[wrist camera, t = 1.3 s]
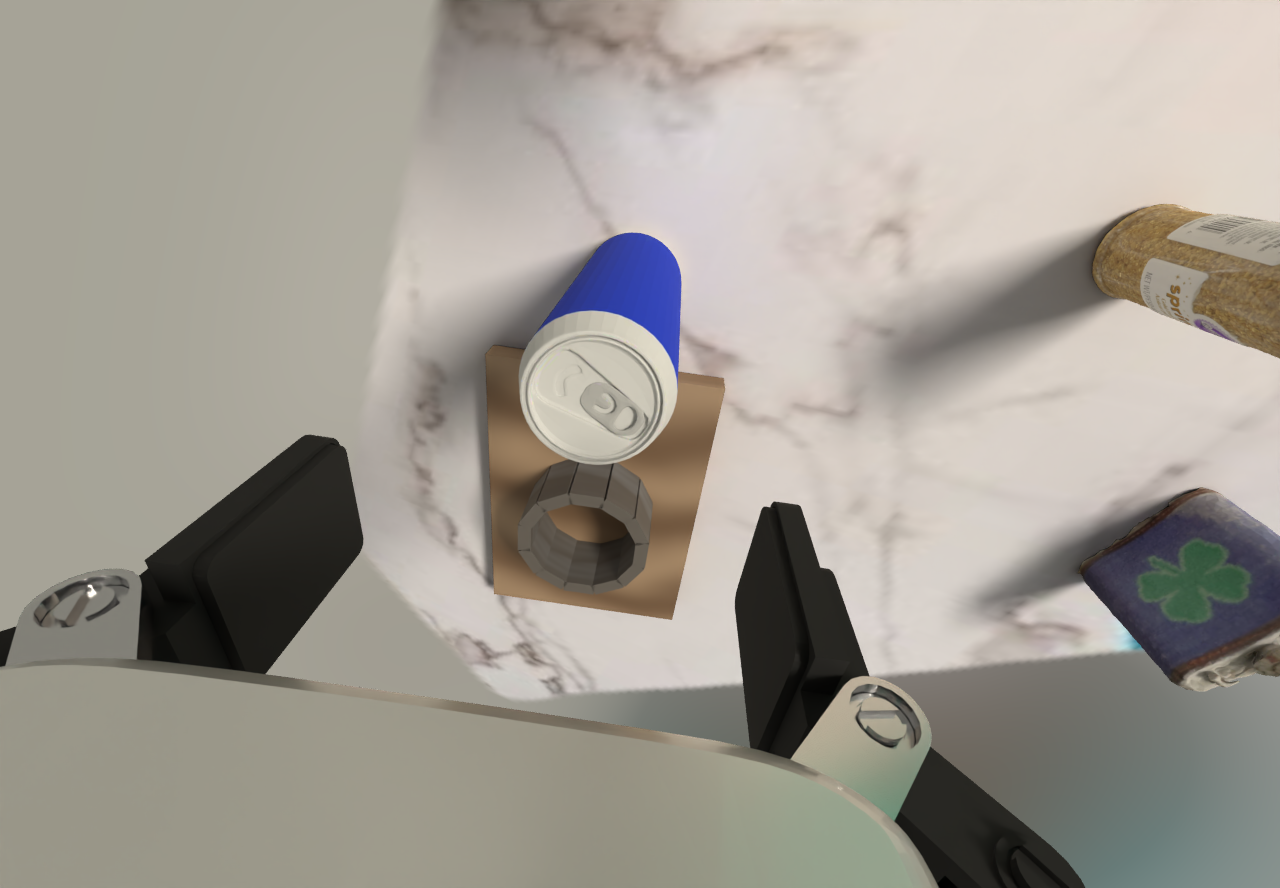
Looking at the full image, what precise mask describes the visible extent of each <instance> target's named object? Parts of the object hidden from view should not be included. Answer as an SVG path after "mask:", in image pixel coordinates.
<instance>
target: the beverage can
mask: <svg viewBox="0 0 1280 888" xmlns="http://www.w3.org/2000/svg"><path fill="white" fill-rule="evenodd" d="M680 308H681V274H680V269H679V266H678V263H677V261H676V259H675V257H674V256H673V254H672V253H671V251H670V250H669V249H668V248H667V247H666V246H665V245H664V244H663V243H662V242H660V241H659V240H657V239H655V238H653V237H651V236H649V235H645V234H641V233H624V234H620V235H617V236H615V237H612V238H610V239H609V240H607V241H606V242H604V243H603V244H602V245H601V246H600V247H599V248H598V249H597V250H596V252H595V253H594V254H593V256H592V257H591V259H590V260H589V261H588V263H587V264H586V265H585V267H584V268H583V270H582V271H581V272H580V274H579V275H578V276H577V278H576V279H575V280H574V282H573V283H572V285H571V286H570V287H569V289H568V290H567V291H566V293H565V294H564V295H563V297H562V298H561V300H560V301H559V302H558V304H557V305H556V306H555V308H554V309H553V310H552V312H551V313H550V315H549V316H548V317H547V319H546V320H545V321H544V323H543V324H542V325H541V327H540V328H539V330H538V331H537V332H536V334H535V335H534V336H533V338H532V339H531V341H530V342H529V343H528V345H527V347H526V349H525V351H524V353H523V356H522V359H521V363H520V368H519V391H520V402H521V407H522V411H523V414H524V416H525V419H526V421H527V423H528V425H529V426H530V428H531V430H532V431H533V433H534V434H535V435H536V436H537V438H538V439H539V440H540V441H541V442H542V443H543V444H545V445H546V446H547V447H548V448H549V449H551V450H552V451H554V452H555V453H557V454H559V455H561V456H563V457H565V458H567V459H570V460H573V461H575V462H580V463H584V464H593V465H603V464H612V463H617V462H620V461H623V460H626V459H629V458H631V457H633V456H635V455H637V454H639V453H640V452H641V451H643V450H644V449H646V448H647V447H648V446H649V445H650V444H651V443H652V442H653V441H654V440H655V439H656V438H657V436H658V435H659V434H660V433H661V432H662V431H663V429H664V428H665V426H666V425H667V424H668V422H669V420H670V418H671V416H672V414H673V412H674V408H675V405H676V400H677V391H678V364H679V336H680Z"/></svg>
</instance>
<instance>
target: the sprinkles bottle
mask: <svg viewBox="0 0 1280 888" xmlns="http://www.w3.org/2000/svg"><path fill="white" fill-rule="evenodd" d="M1092 266H1093V270H1092V275H1093V278H1094V281H1095V282H1096V284H1097V286H1098V287H1099V288H1100V289H1101V291H1102V292H1104V293H1106V294H1107V295H1109V296H1111V297H1114V298H1120V299H1127V300H1129V301H1132V302H1135V303H1138V304H1140V305H1142V306H1146V307H1148V308H1150V309H1152V310H1153V311H1155V312H1157V313H1159V314H1162V315H1165V316H1167V317H1170V318H1173V319H1175V320H1178V321H1180V322H1183V323H1186V324H1188V325H1191V326H1194V327H1196V328H1199V329H1201V330H1204V331H1206V332H1209V333H1212V334H1214V335H1217V336H1219V337H1222V338H1225V339H1228V340H1231V341H1233V342H1236V343H1238V344H1241V345H1244V346H1247V347H1252V348H1255V349H1258V350H1260V351H1263V352H1265V353H1268V354H1271V355H1273V356H1275V357H1278V358H1280V223H1279V222H1273V221H1266V220H1260V219H1254V218H1248V217H1241V216H1235V215H1228V214H1216V215H1213V214H1206V213H1202V212H1196V211H1192V210H1190V209H1188V208H1185V207H1183V206H1178V205H1174V204H1159V205H1154V206H1151V207H1148V208H1144V209H1141V210H1139V211H1137V212H1135V213H1133V214H1131V215H1129V216H1128V217H1126V218H1125V219H1123V220H1122V221H1121V222H1120V223H1119V224H1118V225H1116V226H1115V227H1114V228H1113V229H1112V230H1111V231H1110V232H1109V233H1108V234H1106V235H1105V237H1104V239H1103V241H1102V242H1101V244H1100V245H1099V246H1098V249H1097V251H1096V255H1095V259H1094V262H1093V265H1092Z"/></svg>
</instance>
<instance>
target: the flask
mask: <svg viewBox="0 0 1280 888" xmlns="http://www.w3.org/2000/svg"><path fill="white" fill-rule="evenodd" d="M1168 505H1170V506H1169V508H1168V507H1167V508H1165V509H1163V510H1161V511H1160V512H1159V513H1157V514H1155V515H1153V516H1152V517H1151V518H1147V519H1146V520H1144V521H1143V522H1140V523H1139V524H1138V525H1137V526H1135V527H1133V528H1132V530H1130V531H1131V532H1129V534H1128V535H1127V537H1125V538H1123V539H1122V540H1116V541H1115V542H1114V543H1113V544H1112V546H1111V547H1109V548H1108V549H1104V550H1102V551H1101V550H1100V552H1098V554H1096V556H1093V557H1091V558H1089V559H1087V560H1085V561H1083V563H1082V564H1081V566H1080V569H1079V571H1078V572H1077V573H1080V574H1081V575H1082V577H1083V579H1084V581H1085V582H1086V584H1087V585H1088V586H1089V587H1090V589H1091V590H1092V591H1093V592H1094V593H1095V594H1096V595H1097V596H1098V598H1099V599H1100V600H1101V601H1102V602H1103V603H1104V604H1105V605H1106V606H1107V607H1108V609H1109V610H1110V611H1111V613H1112V614H1113V615H1114V616H1115V617H1116V618H1117V619H1118V620H1119V621H1120V622H1121V623H1122V625H1123V626H1124V627H1125V628H1126V629H1127V630H1128V631H1129V633H1130V634H1131V635H1132V637H1133V638H1134V639H1135V640H1136V641H1137V642H1138V643H1139V644H1140V645H1141V647H1142V648H1143V649H1144V650H1145V651H1146V653H1147V654H1148V655H1149V656H1150V657H1151V659H1152V660H1153V661H1154V662H1155V663H1156V664H1157V665H1158V666H1159V667H1160V668H1161V669H1162V671H1163V672H1164V674H1165V675H1166V676H1167V677H1168V678H1169V680H1170V681H1171V682H1173V683H1175V684H1176V685H1179V686H1181V687H1183V688H1185V689H1187V690H1195V691H1207V690H1209V689H1212V688H1215V687H1217V686H1222V687H1229V686H1232V685H1234V684H1236V683H1238V682H1239V681H1235V682H1229V681H1232V680H1234V679H1237V678H1241V677H1247V676H1249V675H1253V674H1255V673H1258V674H1261V675H1269V676H1275V677H1277V676H1280V536H1279V535H1277V534H1276V533H1274V532H1273V531H1272V530H1271V529H1269V528H1268V527H1267V526H1265V525H1264V524H1262V523H1261V522H1259V521H1258V520H1256V519H1254V518H1253V517H1251V516H1250V515H1249V514H1248V513H1246V512H1245V511H1243V510H1242V509H1241V508H1239V507H1238V506H1236V505H1235V504H1234V503H1232V502H1231V501H1229V500H1228V499H1227V498H1225V497H1224V496H1223V495H1221V494H1220V493H1218V492H1216V491H1213V490H1209V489H1206V488H1203V487H1201V488H1199V489H1198V490H1197V491H1193V492H1191V493H1188V494H1184V495H1182V496H1180V497H1179V498H1176V499H1175V500H1172V501H1171V502H1169V503H1168Z"/></svg>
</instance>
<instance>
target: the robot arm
mask: <svg viewBox="0 0 1280 888" xmlns="http://www.w3.org/2000/svg"><path fill="white" fill-rule="evenodd" d="M362 546H363V534H362V528H361V523H360V518H359V513H358V508H357V503H356V498H355V493H354V488H353V482H352V477H351V472H350V467H349V462H348V457H347V452H346V450H345V448H344V447H343V446H340V444H339V442H338V441H337V440H336V439H334V438H328V437H322V436H315V435H305V436H303V437H301V438H300V439H299V440H298V441H296V442H295V443H294V444H292V445H291V446H290V447H289V448H288V449H286V450H285V451H284V452H282V453H281V454H280V455H278V456H277V457H276V458H275V459H273V460H272V461H271V462H269V463H268V464H267V465H266V466H264V467H263V468H262V469H261V470H259V471H258V472H257V473H255V474H254V475H253V476H252V477H251V478H249V479H248V480H247V481H245V482H244V483H243V484H241V485H240V486H239V487H238V488H236V489H235V490H234V491H232V492H231V493H230V494H229V495H227V496H226V497H225V498H224V499H222V500H221V501H220V502H219V503H217V504H216V505H215V506H213V507H212V508H211V509H210V510H208V511H207V512H206V513H205V514H203V515H202V516H201V517H199V518H198V519H197V520H196V521H194V522H193V523H192V524H190V525H189V526H188V527H187V528H185V529H184V530H183V531H181V532H180V533H179V534H178V535H176V536H175V537H174V538H173V539H171V540H170V541H169V542H167V543H166V544H165V545H164V546H162V547H161V548H160V549H159V550H157V551H156V552H155V553H153V555H151V556H150V557H148V558H147V559H146V560H145V562H146V564H147V566H148V569H147V570H146V571H145V572H143V573H142V574H141V575H139V576H138V575H136V574H135V573H134V572H132V571H128V570H123V569H104V570H98V571H93V572H88V573H85V574H81V575H78V576H75V577H72V578H69V579H67V580H65V581H63V582H61V583H59V584H57V585H54V586H52V587H51V588H49V589H47V590H46V591H44V592H43V593H41V594H40V595H38V596H37V597H36V598H34V599H33V601H32V602H30V603H29V604H28V605H27V606H26V607H25V608H24V610H23V612H22V614H21V615H20V617H19V620H18V624H17V626H16V627H13V628H10V629H7V630H4V631H1V632H0V888H1085V886H1084V884H1083V883H1082V881H1081V879H1080V878H1079V876H1078V875H1077V874H1076V873H1075V871H1074V870H1073V869H1072V867H1071V866H1070V865H1069V863H1068V862H1067V861H1066V860H1065V859H1064V858H1063V857H1062V856H1061V855H1060V854H1059V853H1058V852H1057V851H1056V850H1055V849H1054V848H1053V847H1052V846H1051V845H1049V844H1048V843H1047V842H1046V841H1045V840H1043V839H1042V838H1041V837H1040V836H1038V835H1037V834H1036V833H1035V832H1034V831H1032V830H1031V829H1030V828H1029V827H1027V826H1026V825H1025V824H1024V823H1023V822H1021V821H1020V820H1019V819H1018V818H1016V817H1015V816H1014V815H1013V814H1012V813H1010V812H1009V811H1008V810H1007V809H1005V808H1004V807H1003V806H1002V805H1001V804H999V803H998V802H997V801H996V800H995V799H993V798H992V797H991V796H990V795H989V794H987V793H986V792H985V791H984V790H982V789H981V788H980V787H979V786H978V785H976V784H975V783H974V782H973V781H971V780H970V779H969V778H968V777H967V776H965V775H964V774H963V773H962V772H960V771H959V770H958V769H957V768H956V767H954V766H953V765H952V764H951V763H950V762H948V761H947V760H946V759H944V758H943V757H942V756H941V755H940V754H939V753H937V752H936V751H935V750H934V749H932V748H931V747H930V744H931V739H932V736H931V730H930V725H929V723H928V721H927V719H926V717H925V715H924V713H923V711H922V710H921V709H920V707H919V706H918V705H917V704H916V702H915V701H914V700H913V699H912V698H911V697H910V696H909V695H907V694H906V693H905V692H904V691H903V690H901V689H900V688H898V687H897V686H895V685H893V684H891V683H890V682H888V681H885V680H882V679H879V678H876V677H870V676H869V673H868V671H867V668H866V665H865V662H864V659H863V656H862V653H861V650H860V647H859V644H858V642H857V639H856V636H855V633H854V630H853V627H852V624H851V621H850V618H849V615H848V613H847V610H846V607H845V604H844V601H843V598H842V595H841V592H840V589H839V587H838V584H837V581H836V578H835V576H834V574H833V572H832V571H831V570H830V569H825V568H820V566H819V562H818V559H817V556H816V553H815V550H814V547H813V544H812V540H811V537H810V534H809V531H808V528H807V525H806V521H805V518H804V515H803V512H802V509H801V507H800V506H799V505H795V504H788V503H781V502H773V503H772V504H771V507H763V508H762V510H761V513H760V516H759V520H758V523H757V526H756V529H755V533H754V536H753V539H752V543H751V546H750V549H749V552H748V556H747V559H746V562H745V565H744V569H743V572H742V575H741V578H740V582H739V585H738V588H737V592H736V597H735V612H736V622H737V631H738V640H739V649H740V658H741V667H742V677H743V686H744V694H745V704H746V713H747V722H748V731H749V741H750V748H747V747H742V746H738V745H733V744H728V743H724V742H719V741H714V740H707V739H701V738H696V737H690V736H684V735H678V734H672V733H665V732H660V731H653V730H648V729H642V728H635V727H628V726H622V725H615V724H608V723H602V722H595V721H588V720H581V719H574V718H568V717H561V716H555V715H548V714H541V713H534V712H527V711H521V710H514V709H507V708H501V707H493V706H486V705H480V704H473V703H466V702H459V701H452V700H445V699H438V698H430V697H424V696H417V695H410V694H403V693H396V692H389V691H382V690H375V689H368V688H361V687H353V686H346V685H339V684H331V683H324V682H317V681H310V680H302V679H295V678H288V677H281V676H273V675H266V673H267V671H268V670H269V669H270V667H271V666H272V665H273V664H274V662H275V661H276V660H277V658H278V657H279V656H280V655H281V653H282V652H283V651H284V649H285V648H286V647H287V646H288V644H289V643H290V642H291V641H292V639H293V638H294V637H295V635H296V634H297V633H298V631H299V630H300V629H301V627H302V626H303V625H304V624H305V623H306V621H307V620H308V619H309V617H310V616H311V615H312V613H313V612H314V611H315V610H316V608H317V607H318V606H319V604H320V603H321V602H322V601H323V599H324V598H325V597H326V596H327V594H328V593H329V592H330V590H331V589H332V588H333V587H334V585H335V584H336V583H337V582H338V580H339V579H340V578H341V576H342V575H343V574H344V573H345V571H346V570H347V568H348V567H349V566H350V565H351V564H352V562H353V561H354V560H355V558H356V557H357V556H358V555H359V553H360V551H361V549H362Z"/></svg>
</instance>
